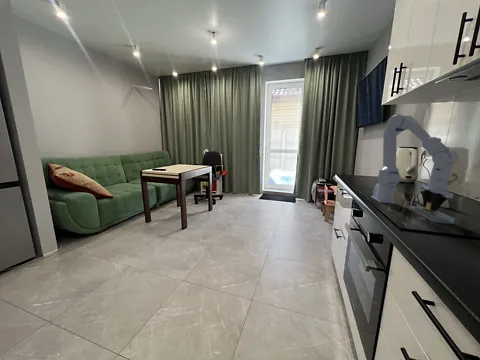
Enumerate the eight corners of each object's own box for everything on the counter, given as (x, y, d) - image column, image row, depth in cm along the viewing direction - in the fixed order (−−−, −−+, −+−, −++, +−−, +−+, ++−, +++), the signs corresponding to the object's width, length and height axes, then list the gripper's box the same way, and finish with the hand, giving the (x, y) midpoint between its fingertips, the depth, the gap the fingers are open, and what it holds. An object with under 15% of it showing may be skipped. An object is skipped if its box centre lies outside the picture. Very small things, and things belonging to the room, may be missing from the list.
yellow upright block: (421, 213, 91) (425, 201, 90) (428, 214, 91) (432, 201, 90) (427, 216, 88) (431, 203, 87) (434, 216, 88) (438, 203, 87)
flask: (433, 206, 103) (438, 187, 101) (428, 202, 110) (433, 184, 107) (452, 209, 100) (458, 190, 98) (445, 205, 107) (451, 187, 104)
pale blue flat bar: (407, 208, 98) (408, 203, 97) (422, 209, 97) (423, 204, 97) (434, 222, 82) (436, 216, 82) (453, 223, 82) (454, 218, 81)
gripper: (416, 174, 93) (408, 202, 96) (443, 182, 79) (434, 214, 82) (432, 176, 92) (424, 203, 96) (463, 183, 78) (452, 215, 82)
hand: (429, 208), depth 89 cm, fingers open, 3 cm apart
